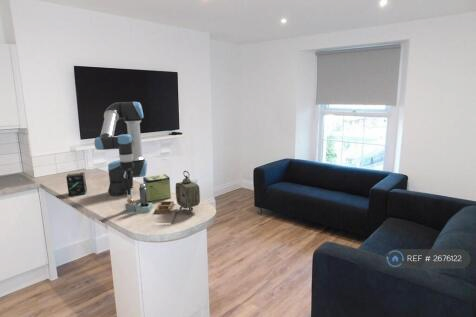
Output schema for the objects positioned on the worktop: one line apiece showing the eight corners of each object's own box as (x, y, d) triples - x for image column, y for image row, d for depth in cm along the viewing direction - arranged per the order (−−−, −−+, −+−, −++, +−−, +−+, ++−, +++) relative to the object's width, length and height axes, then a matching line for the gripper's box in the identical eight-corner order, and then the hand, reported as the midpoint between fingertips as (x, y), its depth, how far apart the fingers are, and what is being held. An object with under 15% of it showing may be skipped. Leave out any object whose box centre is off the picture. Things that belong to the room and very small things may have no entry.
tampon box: (87, 190, 237) (84, 171, 234) (85, 194, 228) (83, 174, 225) (70, 192, 233) (68, 173, 230) (68, 196, 225) (65, 176, 222)
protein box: (171, 199, 213) (169, 177, 210) (148, 203, 206) (146, 180, 203) (166, 195, 222) (165, 173, 219) (144, 199, 215) (142, 177, 212)
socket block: (130, 208, 198) (129, 200, 197) (154, 207, 199) (153, 200, 198) (123, 215, 187) (123, 207, 186) (149, 214, 187) (149, 206, 186)
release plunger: (128, 206, 194) (128, 198, 193) (135, 206, 194) (134, 198, 193) (126, 208, 190) (125, 200, 189) (133, 208, 190) (132, 200, 189)
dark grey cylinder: (142, 208, 194) (140, 183, 191) (148, 208, 194) (146, 183, 191) (140, 211, 190) (138, 185, 187) (147, 210, 190) (144, 185, 187)
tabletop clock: (176, 209, 195) (174, 169, 190) (189, 205, 200) (187, 167, 195) (188, 216, 184) (185, 174, 179) (201, 212, 189) (199, 171, 184)
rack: (159, 205, 202) (159, 201, 201) (175, 205, 202) (175, 200, 201) (153, 215, 186) (153, 210, 185) (170, 214, 186) (170, 210, 185)
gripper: (123, 158, 192) (127, 196, 197) (116, 163, 180) (120, 203, 184) (136, 158, 192) (139, 195, 197) (129, 163, 180) (133, 202, 184)
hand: (130, 199), depth 191 cm, fingers closed
